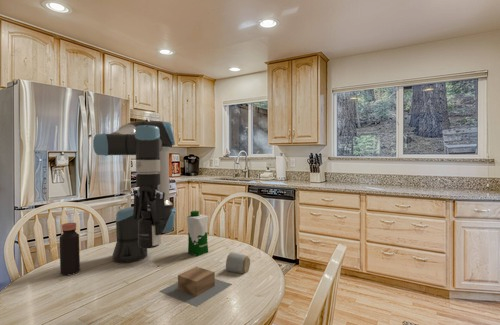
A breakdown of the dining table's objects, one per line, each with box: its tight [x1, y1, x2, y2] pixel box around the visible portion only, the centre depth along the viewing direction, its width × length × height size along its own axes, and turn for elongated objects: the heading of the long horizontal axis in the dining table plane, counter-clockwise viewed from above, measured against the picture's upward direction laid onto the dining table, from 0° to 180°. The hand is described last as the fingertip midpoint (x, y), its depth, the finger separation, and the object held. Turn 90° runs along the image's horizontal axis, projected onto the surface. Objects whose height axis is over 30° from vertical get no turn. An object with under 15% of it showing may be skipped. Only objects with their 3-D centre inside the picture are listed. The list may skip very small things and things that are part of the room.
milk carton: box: [186, 210, 210, 257], centre depth 138 cm, size 9×9×20 cm
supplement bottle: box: [138, 208, 160, 250], centre depth 93 cm, size 7×7×12 cm
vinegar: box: [59, 222, 81, 276], centre depth 116 cm, size 7×7×20 cm
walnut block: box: [177, 266, 216, 296], centre depth 100 cm, size 9×9×5 cm
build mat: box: [158, 278, 233, 307], centre depth 100 cm, size 18×18×1 cm
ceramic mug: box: [225, 251, 251, 274], centre depth 116 cm, size 11×8×8 cm
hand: (149, 242), depth 93 cm, fingers closed on supplement bottle, 7 cm apart
